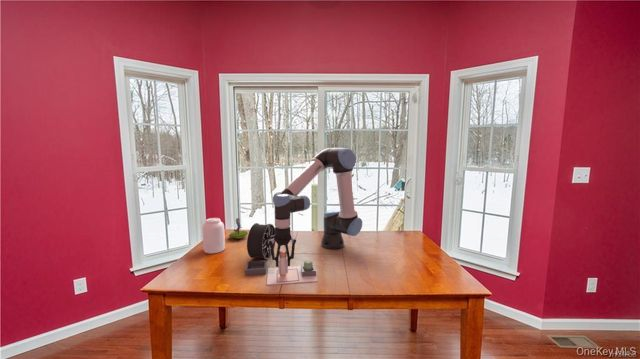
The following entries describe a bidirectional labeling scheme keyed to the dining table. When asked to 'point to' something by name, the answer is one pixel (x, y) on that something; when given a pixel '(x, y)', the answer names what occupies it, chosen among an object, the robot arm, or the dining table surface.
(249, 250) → the wheel rim
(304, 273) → the button housing
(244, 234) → the figurine
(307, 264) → the button cap
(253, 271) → the marker tray
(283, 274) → the marker
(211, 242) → the white jar
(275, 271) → the board
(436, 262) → the dining table surface
